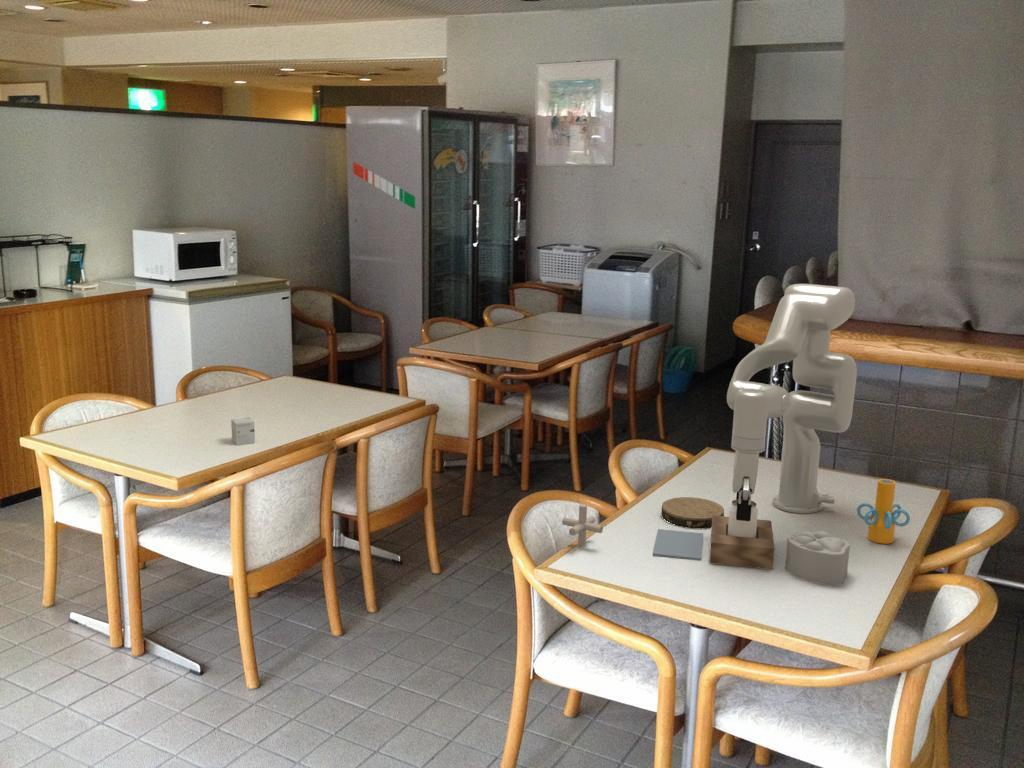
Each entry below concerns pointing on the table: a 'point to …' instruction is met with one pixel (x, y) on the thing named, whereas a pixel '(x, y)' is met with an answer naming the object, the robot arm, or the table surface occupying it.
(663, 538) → the rubber mat
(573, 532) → the pipe connector
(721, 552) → the housing block
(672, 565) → the table surface
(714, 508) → the wooden disc
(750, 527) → the can
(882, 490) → the cylinder
